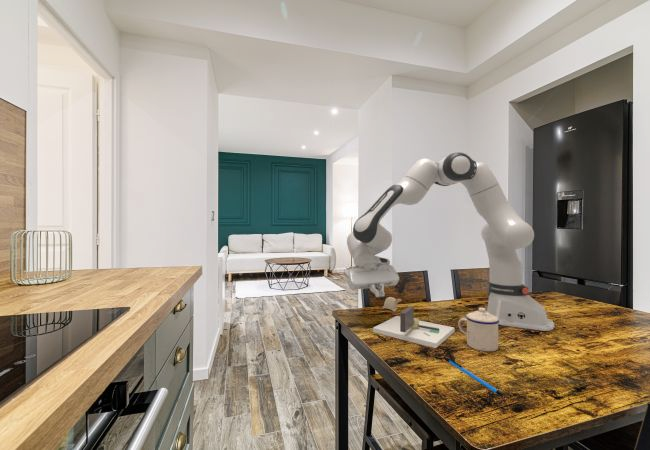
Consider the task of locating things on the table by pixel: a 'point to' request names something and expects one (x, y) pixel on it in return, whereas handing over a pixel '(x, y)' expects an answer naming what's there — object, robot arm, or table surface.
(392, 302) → the decorative ornament
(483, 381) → the pen
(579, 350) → the table surface
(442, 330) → the white rectangular slab
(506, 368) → the table surface
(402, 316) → the tuning peg
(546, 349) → the table surface
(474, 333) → the teacup with lid
